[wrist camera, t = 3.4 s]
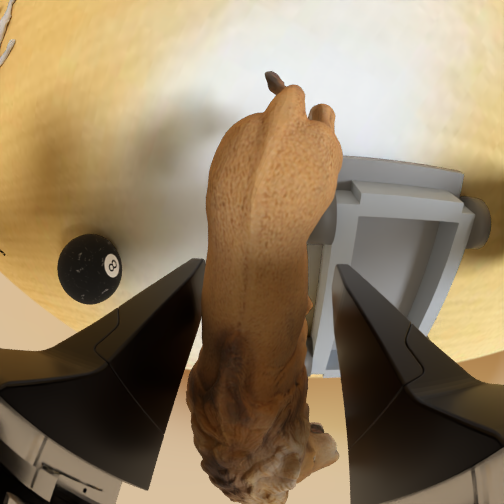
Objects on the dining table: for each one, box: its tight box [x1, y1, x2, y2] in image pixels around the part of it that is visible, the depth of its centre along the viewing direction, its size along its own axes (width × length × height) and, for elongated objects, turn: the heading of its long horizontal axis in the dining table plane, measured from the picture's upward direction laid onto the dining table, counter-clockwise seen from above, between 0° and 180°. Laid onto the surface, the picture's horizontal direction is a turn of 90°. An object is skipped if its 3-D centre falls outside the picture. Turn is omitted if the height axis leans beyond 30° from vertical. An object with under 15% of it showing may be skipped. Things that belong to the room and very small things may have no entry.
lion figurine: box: [186, 71, 343, 504], centre depth 8 cm, size 15×5×9 cm, turn 6°
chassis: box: [304, 156, 491, 378], centre depth 20 cm, size 14×22×4 cm, turn 2°
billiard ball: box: [57, 234, 122, 304], centre depth 21 cm, size 6×6×6 cm
